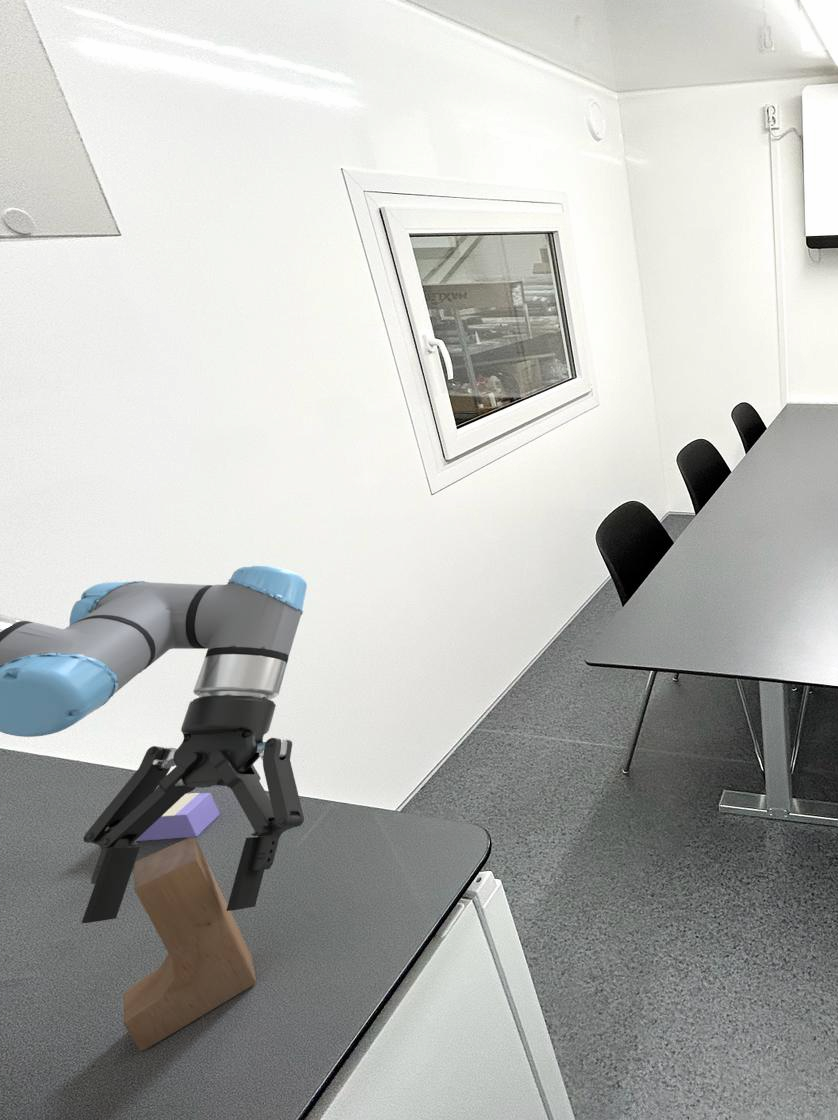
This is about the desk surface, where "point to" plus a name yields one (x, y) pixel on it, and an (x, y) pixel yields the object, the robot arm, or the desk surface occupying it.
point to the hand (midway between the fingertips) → (170, 915)
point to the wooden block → (185, 945)
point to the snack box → (184, 818)
